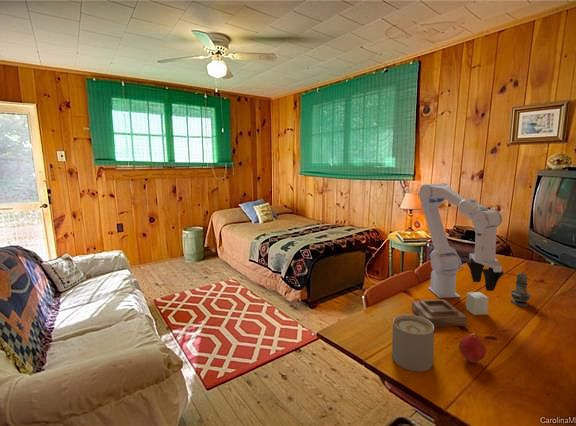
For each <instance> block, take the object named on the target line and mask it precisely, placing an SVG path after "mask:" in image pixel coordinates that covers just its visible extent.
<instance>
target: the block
mask: <svg viewBox="0 0 576 426" xmlns="http://www.w3.org/2000/svg"><path fill="white" fill-rule="evenodd" d="M488 307H489V297H488V296H486V295H485V294H484V293H482V292H479V291H478V292H477V291H475V292H474V291H473V292H466V301H465V309H466V310H467V311H468V312H469V313H471V314H472V315H474V316H479V315H482V316H484V315H488V310H489V308H488Z"/></svg>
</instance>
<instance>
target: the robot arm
mask: <svg viewBox="0 0 576 426" xmlns="http://www.w3.org/2000/svg"><path fill="white" fill-rule="evenodd" d="M419 188H420V189H419V191H418V197H419V200H420V204H421V207H422V211H423V215H424V217H425V221H426V225H427V228H428V232H429V235H430V239H431V241H432V245H433V248H434V249H433V250H432V251H431V253H430V254H429V258H430V266H431V269H432V271H431V272H430V285H429V287H428V288H427V289H428V290H429V291H430V292H432V293H433V294H434V295H435V296H437V297H438V298H440V299H442V298H443V299H444V298H460V297H461V295H460V294H458V293H457V292H456V285H457V284H456V282H457V281H456V280H457V274H458V271H459V270H460V269H461V267H462V266H463V265H462V264H463V262H462V260H461V258H460V256H459V254H458V252H457V250H456V249H455V248H454V247H451V246H450V244H449V241H448V238H447V234H446V230H445V228H444V225H443V222H442V218H441V215H440V211H439V207H440V206H442V204H443V203H444V202H445V201H448V202H449V203H450V204H453V205H454V206H456V207H457V209H458V212H459V213H461V214H462V215H463V216H465V217H466V218H468V219H470V220H471V224H472V225H473V227H474V230H473V231H474V232H475V240H474V241H475V242H474V252H473V253H469V256H468V259H469V260H466V265H467V266H468V268H469V271H470V274H471V279H472V282H473V283H481V280H482V276H484V283H485V285H484V286H485V290H486V291H487V292H492V291H495V289H496V286H497V284H498V282H499V280H500V278H501V277H502V276H503V275H504V273H505V272H504V271H503V270H502V269H503V266H502V265H501V264H499V263H498V262H499V259H498V258H496V252H497V251H496V249H497V232H498V227H499V226H501V224H502V222H503V217H502V214H501V213H500V212H499V211H498V209H489V208H487V206H485V205H482V204H481V203H478V202H477V200H476V199H475V198H469V197H468V198H464V197H462V195H460V194H459V193H458V192H457V191H455V190H453V189H452V187H451V185H449V184H447V183H445V182H441V183H430V184H429V183H424V184H422V185H421V186H420V187H419ZM485 267H487V268H485ZM482 274H483V275H482Z"/></svg>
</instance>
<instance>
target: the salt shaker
mask: <svg viewBox="0 0 576 426" xmlns="http://www.w3.org/2000/svg"><path fill="white" fill-rule="evenodd" d="M514 283H515V288H514V289H513V290H511V291H510V295H511V297H512V298H513V299H511V300H510V302H511V304H513V305H516V306H519V307H529V306H530V303H529V302H528V301H529V300H530V298H531V297H532V294H530V293H529V292H528V291H527V287H528V276H527V274H525V273H524V271H521V272H520V273H518V274H516V281H515V282H514Z"/></svg>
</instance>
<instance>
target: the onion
mask: <svg viewBox="0 0 576 426" xmlns="http://www.w3.org/2000/svg"><path fill="white" fill-rule="evenodd" d="M458 349H459V351H460V353H461V355H462V356H463V358H465V359H466V360H467V361H468V362H469V363H472V364H473V363H477V362H480V361H481V360H483V359H484V358H485V357H486V354H487V349H486V346H485V344H484V342H483V341H482V339H480V338H479V337H478V336H476V333H471V334H467V335H465V336H464V337H462V339H460V341H459V343H458Z"/></svg>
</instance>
